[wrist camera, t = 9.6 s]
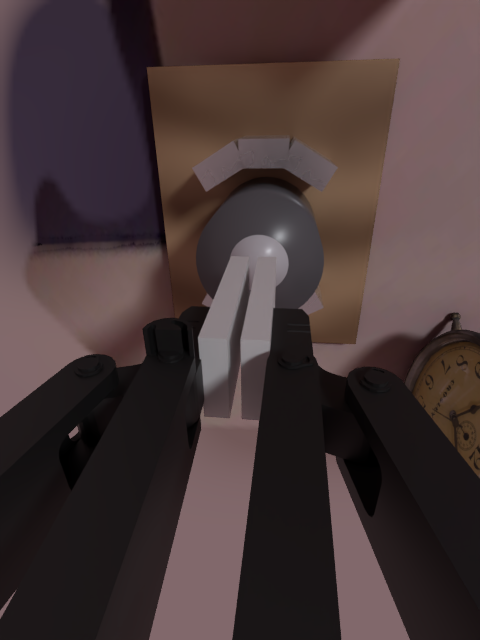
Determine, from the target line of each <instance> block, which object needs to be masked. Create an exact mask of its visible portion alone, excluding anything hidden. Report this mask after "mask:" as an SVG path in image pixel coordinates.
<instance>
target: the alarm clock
mask: <svg viewBox="0 0 480 640" xmlns="http://www.w3.org/2000/svg"><path fill="white" fill-rule="evenodd" d="M460 318H461V317H460V314H459V313H452V314H451V319H452V320H453V323H452V327H451V331H449V332H446V333H444V334H442V335H440V336H438V337H436V338H435V339H433V340H432V341H431V342H430V343H429V344H428V345H427V346H425V347H424V349H422V351H421V352H420V353H419V355H418V356H417V358H416V359H415V360H414V362H413V364H412V366H411V368H410V370H409V372H408V374H407V377H406V379H405V382H404V384H405V385H406V386H407V388H408V389H409V390H410V391H411V393H412V394H413V395H414V396H415V398H416V399H417V400H418V401H419V403H420V404H421V405H422V407H423V408H424V409H425V410H426V412H427V413H428V414H429V415H430V417H431V418H432V419H433V420H434V422H435V423H436V424H437V425H438V427H439V428H440V429H441V430H442V432H443V433H444V434H445V436H446V437H447V438H448V439H449V441H450V442H451V443H452V444H453V446H454V447H455V448H456V449H457V451H458V452H459V453H460V454H461V456H462V457H463V458H464V459H465V461H466V462H467V463H468V464H469V466H470V467H471V468H472V470H473V471H474V472H475V473H476V475H477V476H478V477H479V478H480V333H477V332H474V331H470V330H462V328H461V325H460V322H459V319H460Z"/></svg>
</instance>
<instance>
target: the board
mask: <svg viewBox="0 0 480 640" xmlns="http://www.w3.org/2000/svg"><path fill="white" fill-rule="evenodd" d="M399 61H400V59H373V60H344V61H315V62H285V63H256V64H227V65H197V66H168V67H147V74H148V83H149V92H150V101H151V110H152V118H153V127H154V136H155V145H156V154H157V163H158V172H159V180H160V189H161V198H162V207H163V216H164V225H165V234H166V243H167V251H168V260H169V269H170V278H171V287H172V296H173V305H174V313H175V318H178V319H179V317H180V315H181V313H182V312H183V311H185V310H186V309H188V308H189V307H191V306H201V307H207V306H205V305H204V304H202V302H203V300H204V298H205V295H206V293H207V292H206V290H205V289H204V287H203V285H202V283H201V281H200V278H199V275H198V272H197V266H196V250H197V245H198V241H199V238H200V236H201V233H202V231H203V230H204V228H205V226H206V225H207V223H208V222H209V221H210V219H211V218H212V217H213V215H214V214H215V213H216V211H217V210H218V209H219V207H220V206H221V205H222V204H223V202H224V201H225V200H226V198H227V197H228V196H229V194H230V193H231V192H232V191H233V190H234V189H235V188H237V187H238V186H239V185H241V184H243V183H244V182H246V181H249V180H251V179H255V178H260V177H274V178H279V179H282V180H285V181H287V182H289V183H291V184H293V185H294V186H296V187H297V188H298V189H299V190H300V191H301V192H302V193H303V194H304V195H305V196H306V198H307V200H308V201H309V203H310V205H311V207H312V210H313V213H314V217H315V221H316V224H317V228H318V232H319V235H320V239H321V243H322V246H323V252H324V267H323V273H322V277H321V280H320V282H319V286H320V291H321V296H322V302H323V307H324V308H322V309H320V310H318V311H315V312H313V313H311V314H309V315H308V316H309V320H310V329H311V339H312V342H320V343H342V344H356V338H357V331H358V325H359V318H360V312H361V305H362V299H363V293H364V286H365V280H366V273H367V267H368V260H369V254H370V248H371V241H372V235H373V228H374V222H375V215H376V209H377V203H378V196H379V190H380V183H381V177H382V170H383V164H384V158H385V151H386V145H387V138H388V132H389V125H390V119H391V113H392V106H393V100H394V93H395V87H396V80H397V74H398V68H399ZM265 135H289V137H290V142H291V141H292V139H293V137H295V138H297V139H299V140H300V141H302V142H303V143H305V144H306V145H308V146H309V147H311V148H313V149H314V150H316V151H317V152H319V153H320V154H322V155H323V156H325V157H326V158H328V159H330V160H331V161H332V162H333V163H334V164H335V165H336V166H337V167H338V168H337V170H336V171H335V173H334V174H333V176H332V177H331V179H330V181H329V182H328V184H327V185H326V187H325V188H324V190H323V191H322V192H321V191H319V190H318V189H316V188H315V187H313V186H311V185H310V184H308V183H307V182H305V181H303V180H302V179H300V178H299V177H297V176H295V175H294V174H292V173H291V172H289V171H287V170H286V169H284V168H243V169H241V170H240V171H238V172H237V173H235V174H234V175H232V176H230V177H229V178H227V179H226V180H224V181H222V182H221V183H219V184H218V185H216V186H215V187H213V188H211V189H210V190H208V191H207V192H206V191H205V189H204V187H203V186H202V184H201V182H200V181H199V179H198V177H197V176H196V174H195V172H194V171H193V169H192V168H193V167H194V166H196V165H197V164H199V163H200V162H202V161H203V160H205V159H206V158H208V157H209V156H211V155H212V154H214V153H215V152H217V151H218V150H220V149H221V148H223V147H224V146H226V145H227V144H229V143H230V142H232V141H234V140H236V139H238V138H241V137H244V136H265ZM290 142H289V144H290Z"/></svg>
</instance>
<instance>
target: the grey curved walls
mask: <svg viewBox="0 0 480 640" xmlns="http://www.w3.org/2000/svg"><path fill="white" fill-rule="evenodd" d="M289 142H290V137H289V135H265V136H244V137H241V138H238V139H236V140H234V141H232V142H230V143H229V144H227V145H226V146H224V147H223V148H221V149H220V150H218V151H217V152H215V153H214V154H212V155H211V156H209V157H208V158H206V159H205V160H203V161H202V162H200V163H199V164H197V165H196V166H194V167H193V168H192V169H193V171H194V172H195V174H196V176H197V177H198V179H199V181H200V182H201V184H202V186H203V187H204V189H205V191H206V192H207V191H208V190H210V189H211V188H213V187H215V186H216V185H218V184H219V183H221V182H222V181H224V180H226V179H227V178H229V177H230V176H232V175H234V174H235V173H237V172H238V171H240V170H241V169H243V168H284V169H286V170H287V171H289V172H291V173H292V174H294V175H295V176H297V177H299V178H300V179H302V180H303V181H305V182H307V183H308V184H310V185H311V186H313V187H315V188H316V189H318V190H319V191H321V192H322V191H323V190H324V188H325V187H326V185H327V184H328V182H329V181H330V179H331V177H332V176H333V174H334V173H335V171H336V170H337V168H338V167H337V166H336V165H335V164H334V163H333V162H332V161H331V160H330V159H328V158H326V157H325V156H323V155H322V154H320V153H319V152H317V151H316V150H314V149H313V148H311V147H309V146H308V145H306V144H305V143H303V142H302V141H300V140H299V139H297V138H295V137H293V139H292V141H291V142H290V144H289ZM212 302H213V299H212V298H211V297H210V296H209V295H208V293H206V295H205V298H204V300H203V302H202V304H204V305H205V306H207V307H211V304H212ZM322 308H324V307H323V302H322V296H321V291H320V286H319V285H318V287H317V289H316V290H315V292H314V293H313V295H312V296H311V297H310V298H309V300H308V301H307V302H306V303H305V304H304V305H302V306H301V307H300V308H298V309H303V310H304V311H305V313H306V314H307V315H309V314H311V313H313V312H315V311H318V310H320V309H322Z"/></svg>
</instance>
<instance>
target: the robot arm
mask: <svg viewBox="0 0 480 640" xmlns="http://www.w3.org/2000/svg"><path fill="white" fill-rule="evenodd" d="M275 288H276V257H258V259H257V264H256V269H255V273H254V278H253V283H252V288H251V292H250V297H249V256H231V258H230V260H229V263H228V265H227V268H226V270H225V272H224V275H223V277H222V280H221V282H220V285H219V287H218V290H217V292H216V295H215V297H214V299H213V302H212V304H211V307H201V306H191V307H189V308H188V309H186V310H185V311H183V312H182V313H181V315H180V317H179V319H178V318H164V319H160V320H156V321H153V322H151V323H149V324H147V325H146V326H145V327H144V328H143V335H144V341H145V348H146V354H147V356H146V357H145V359H144V361H143V363H142V364H138V365H133V366H126V367H119V368H116V363H115V361H114V360H113V358H112V357H109V356H107V355H100V354H93V355H87V356H84V357H81V358H79V359H76V360H74V361H73V362H71V363H69V364H68V365H67V366H65V367H64V368H63V369H61V370H60V371H59V372H58V373H56V374H55V375H54V376H53V377H51V378H50V379H49V380H47V381H46V382H45V383H44V384H42V385H41V386H40V387H38V388H37V389H36V390H35V391H33V392H32V393H31V394H30V395H28V396H27V397H26V398H24V399H23V400H22V401H21V402H19V403H18V404H17V405H16V406H14V407H13V408H12V409H10V410H9V411H8V412H7V413H5V414H4V415H3V416H1V417H0V610H1V609H2V607H3V606H4V605H5V603H6V602H7V601H8V599H9V598H10V597H11V596H12V594H13V593H14V592H15V591H16V592H15V594H14V596H13V597H12V599H11V601H10V603H9V605H8V606H7V608H6V610H5V612H4V614H3V616H2V617H1V619H0V640H149V637H150V632H151V628H152V624H153V620H154V616H155V612H156V608H157V604H158V600H159V596H160V592H161V588H162V584H163V580H164V576H165V572H166V568H167V564H168V560H169V556H170V552H171V548H172V544H173V540H174V536H175V532H176V528H177V524H178V520H179V516H180V511H181V508H182V503H183V499H184V495H185V491H186V488H187V483H188V479H189V475H190V471H191V467H192V463H193V459H194V455H195V451H196V447H197V443H198V439H199V435H200V431H201V420H200V413H201V410H202V407H203V406H204V416H205V417H220V418H230V414H231V409H232V404H233V398H234V393H235V388H236V383H237V378H238V372H239V367H240V362H241V395H242V419H249V420H259V428H258V437H257V445H256V453H255V461H254V469H253V477H252V485H251V493H250V501H249V509H248V517H247V525H246V534H245V542H244V550H243V558H242V567H241V575H240V583H239V591H238V599H237V608H236V615H235V624H234V631H233V639H232V640H341V630H340V619H339V608H338V597H337V596H338V595H337V584H336V572H335V560H334V548H333V538H332V525H331V514H330V503H329V490H328V478H327V467H326V455H325V453H328V454H331V455H335V456H336V461H337V464H338V467H339V469H340V471H341V474H342V476H343V478H344V481H345V484H346V486H347V488H348V491H349V493H350V496H351V498H352V500H353V503H354V505H355V508H356V510H357V513H358V515H359V517H360V520H361V522H362V525H363V527H364V529H365V532H366V534H367V537H368V539H369V541H370V544H371V546H372V549H373V551H374V554H375V556H376V558H377V561H378V563H379V566H380V568H381V570H382V573H383V575H384V578H385V580H386V583H387V585H388V587H389V590H390V592H391V595H392V597H393V599H394V602H395V604H396V607H397V609H398V612H399V614H400V616H401V619H402V621H403V624H404V626H405V628H406V631H407V633H408V636H409V638H410V640H480V478H479V477H478V476H477V475H476V473H475V472H474V471H473V470H472V468H471V467H470V466H469V464H468V463H467V462H466V461H465V459H464V458H463V457H462V456H461V454H460V453H459V452H458V451H457V449H456V448H455V447H454V446H453V444H452V443H451V442H450V441H449V439H448V438H447V437H446V436H445V434H444V433H443V432H442V430H441V429H440V428H439V427H438V425H437V424H436V423H435V422H434V420H433V419H432V418H431V417H430V415H429V414H428V413H427V412H426V410H425V409H424V408H423V407H422V405H421V404H420V403H419V401H418V400H417V399H416V398H415V396H414V395H413V394H412V393H411V391H410V390H409V389H408V388H407V386H406V385H405V384H404V383H403V381H402V380H401V379H400V378H398V377H397V376H396V375H395V374H393V373H391V372H389V371H387V370H384V369H381V368H376V367H361V368H356V369H354V370H353V371H351V372H350V373H349V375H348V377H347V378H346V377H342V376H338V375H335V374H332V373H329V372H327V371H325V370H323V369H322V368H321V367H320V366H318V363H317V361H316V358H315V357H314V356H313V348H312V339H311V329H310V320H309V316H308V315H307V314H306V313H305V311H304V310H303V309H287V308H275ZM76 426H77V427H78V430H79V432H78V433H77V434H76V435H75V436H74V437H72V438H71V439H70V438H69V435H68V434H69V433H70V432H71V431H72V430H73V429H74V428H75V427H76ZM16 589H17V590H16Z"/></svg>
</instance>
